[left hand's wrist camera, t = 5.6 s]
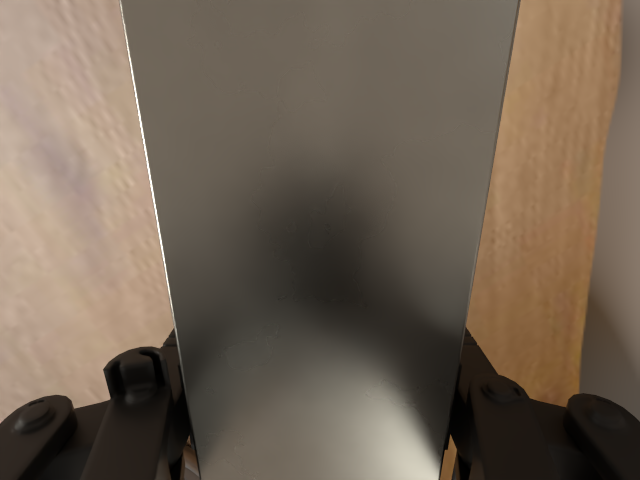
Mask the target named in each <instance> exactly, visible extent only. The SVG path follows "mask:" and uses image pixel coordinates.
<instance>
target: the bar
mask: <svg viewBox="0 0 640 480" xmlns="http://www.w3.org/2000/svg"><path fill="white" fill-rule="evenodd" d="M520 1H521V0H119V4H120V10H121V16H122V22H123V27H124V33H125V39H126V45H127V51H128V57H129V63H130V69H131V75H132V81H133V87H134V93H135V98H136V104H137V110H138V116H139V122H140V128H141V134H142V140H143V146H144V152H145V158H146V164H147V170H148V175H149V181H150V187H151V193H152V199H153V205H154V211H155V217H156V223H157V229H158V235H159V241H160V246H161V252H162V258H163V264H164V270H165V276H166V282H167V288H168V294H169V300H170V306H171V312H172V317H173V323H174V329H175V335H176V341H177V347H178V353H179V359H180V365H181V371H182V377H183V383H184V388H185V394H186V400H187V406H188V412H189V418H190V424H191V430H192V436H193V442H194V448H195V454H196V459H197V465H198V471H199V477H200V480H440V475H441V469H442V463H443V457H444V451H445V445H446V440H447V434H448V428H449V422H450V416H451V410H452V404H453V398H454V392H455V386H456V380H457V374H458V368H459V363H460V357H461V351H462V345H463V339H464V333H465V327H466V321H467V315H468V309H469V303H470V297H471V291H472V286H473V280H474V274H475V268H476V262H477V256H478V250H479V244H480V238H481V232H482V226H483V220H484V214H485V209H486V203H487V197H488V191H489V185H490V179H491V173H492V167H493V161H494V155H495V149H496V143H497V137H498V132H499V126H500V120H501V114H502V108H503V102H504V96H505V90H506V84H507V78H508V72H509V66H510V60H511V55H512V49H513V43H514V37H515V31H516V25H517V19H518V13H519V7H520Z"/></svg>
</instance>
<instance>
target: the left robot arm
mask: <svg viewBox="0 0 640 480" xmlns="http://www.w3.org/2000/svg"><path fill="white" fill-rule="evenodd" d="M103 371H104V374H105V378H106V382H107V386H108V389H109V393H110V397H111V399H110V400H108V401H105V402H101V403H97V404H93V405H89V406H85V407H80V408H76V409H74V407H73V404H72V401H71V400H70V399H69V398H68V397H66V396H61V395H53V396H46V397H42V398H39V399H36V400H34V401H31V402H29V403H27V404H25V405H24V406H22V407H20V408H18V409H17V410H15V411H14V412H13V413H12V414H10V415H9V416H8V417H7V418H5V420H4V421H3V422H2V423H1V424H0V480H200V477H199V471H198V465H197V459H196V454H195V448H194V442H193V436H192V430H191V424H190V418H189V412H188V406H187V400H186V394H185V388H184V383H183V377H182V371H181V365H180V359H179V353H178V347H177V341H176V335H175V329H173V330H172V332H171V333H170V335H169V338H167V339H166V341H165V342H164V344H163V347H161V348H156V347H139V348H135V349H131V350H128V351H126V352H124V353H122V354H119V355H118V356H116V357H115V358H114V359H112V360H111V361H109V362H108V364H107V365H106V367H105V368H104V369H103ZM450 434H451V436H452V439H453V441H454V444H455V446H456V448H457V453H456V458H455V464H454V469H453V474H452V480H640V422H639V421H638V420H637V419H636V418H635V417H634V416H633V415H632V414H631V413H629V412H628V411H627V410H626V409H624V408H623V407H621V406H619V405H618V404H616V403H614V402H612V401H610V400H608V399H605V398H602V397H600V396H597V395H591V394H584V393H583V394H576V395H573V396H572V397H571V398H570V399H569V400H568V403H567V406H566V407H562V406H557V405H553V404H549V403H545V402H540V401H537V400H533V399H530V398H529V396H528V395H527V393H526V392H525V390H524V389H523V388H522V387H521V386H519V385H518V384H517V383H516V382H514V381H512V380H510V379H508V378H506V377H504V376H501V375H498V374H497V372H496V371H495V369H494V368H493V366H492V365H491V363H490V362H489V360H488V359H487V357H486V356H485V354H484V353H483V351H482V350H481V348H480V347H479V345H477V343H476V341H475V340H474V338H473V337H471V334H470V332H469V331H468V329H467V328H466V327H465V333H464V339H463V345H462V351H461V357H460V363H459V368H458V374H457V380H456V386H455V392H454V398H453V404H452V410H451V416H450V422H449V428H448V434H447V440H446V445H445V450H448V445H449V439H450ZM189 435H190V440H191V446H192V448H190V447H189V446H187V445H186V442H187V440H188V437H189Z"/></svg>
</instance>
